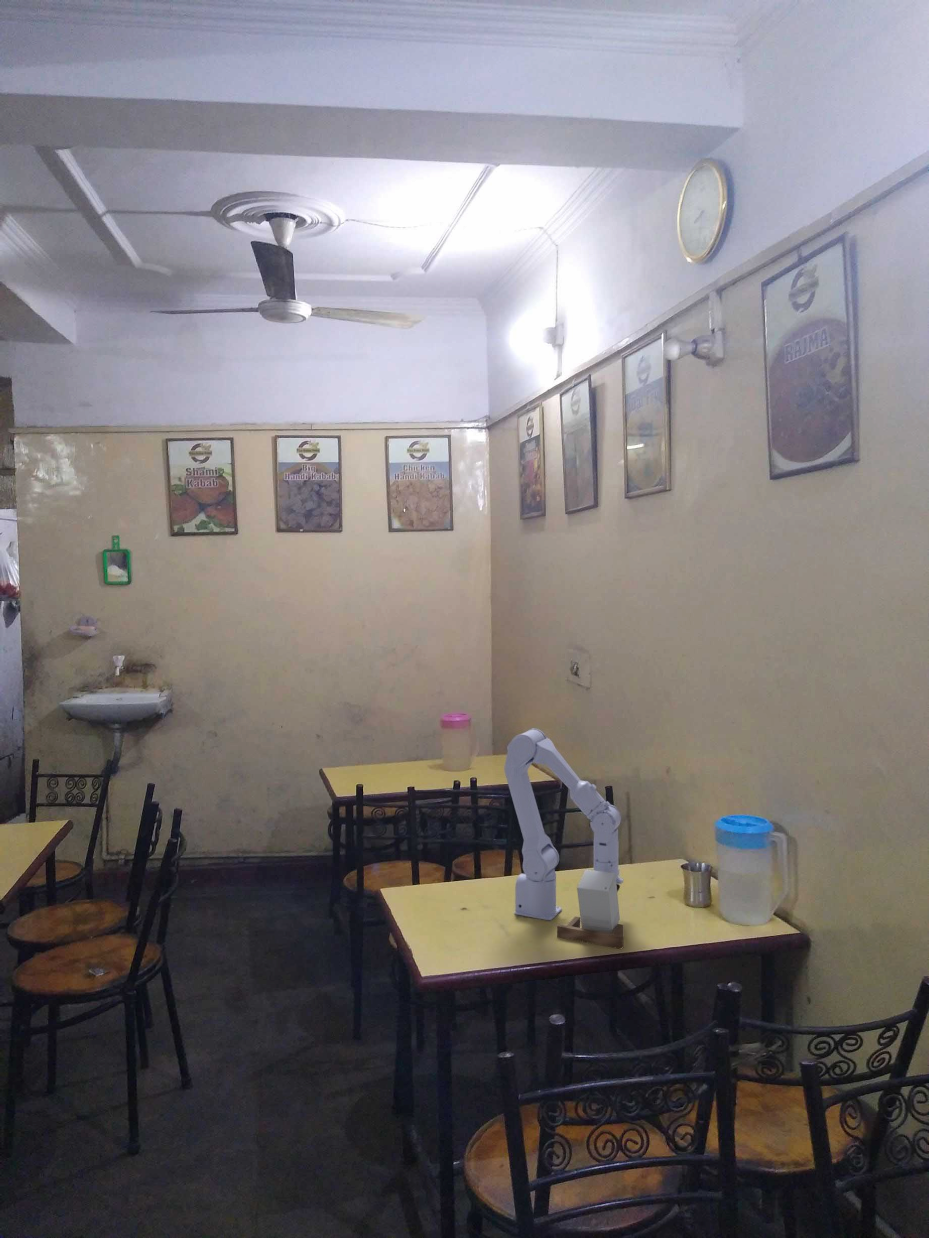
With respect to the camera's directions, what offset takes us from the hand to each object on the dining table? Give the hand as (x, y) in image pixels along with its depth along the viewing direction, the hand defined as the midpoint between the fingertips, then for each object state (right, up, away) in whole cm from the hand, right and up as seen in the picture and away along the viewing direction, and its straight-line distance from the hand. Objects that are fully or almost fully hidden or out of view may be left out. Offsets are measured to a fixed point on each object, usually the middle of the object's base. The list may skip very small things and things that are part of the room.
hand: (605, 916), depth 209 cm
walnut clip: (-4, -2, -8) cm, 9 cm away
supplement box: (-2, -1, -5) cm, 5 cm away
